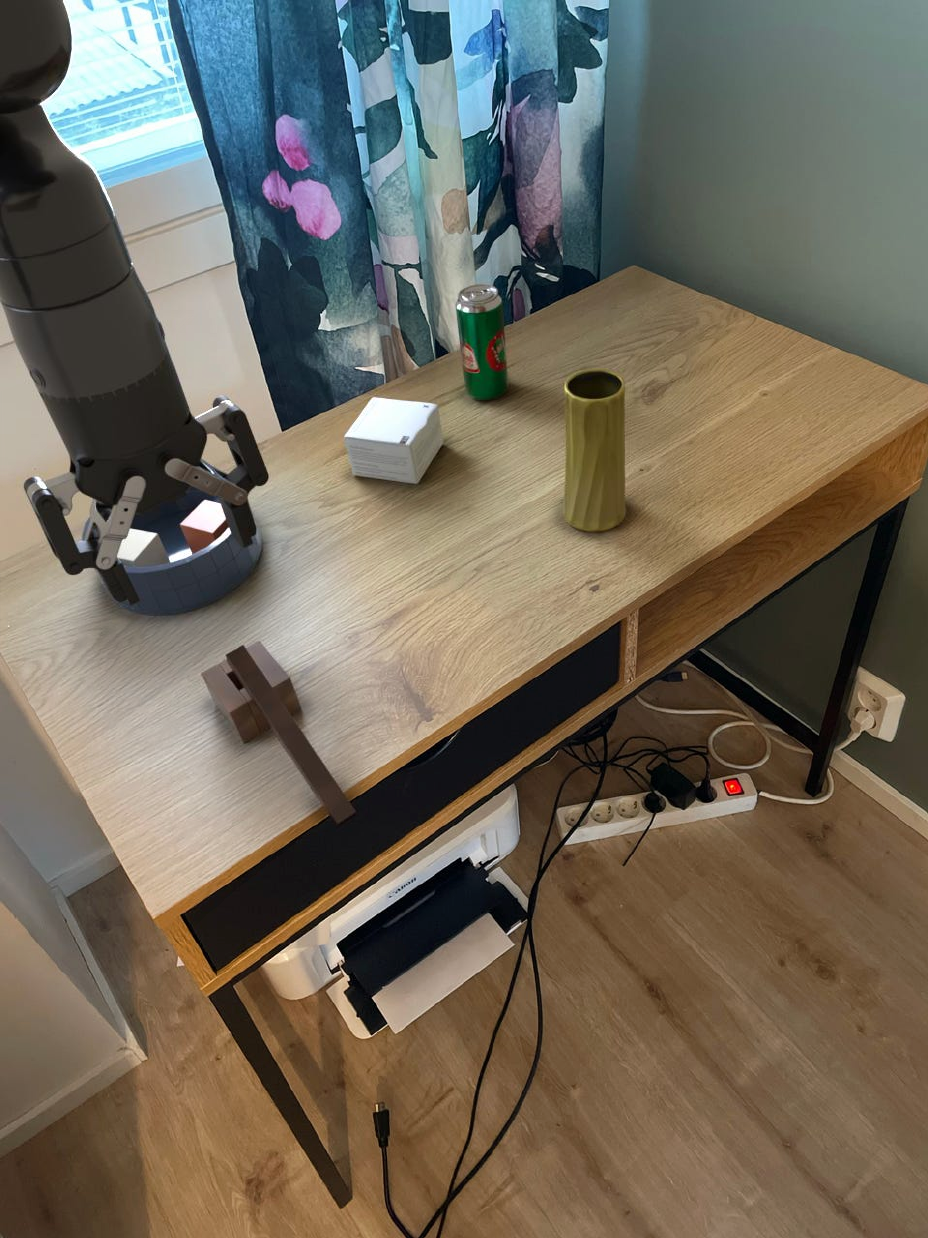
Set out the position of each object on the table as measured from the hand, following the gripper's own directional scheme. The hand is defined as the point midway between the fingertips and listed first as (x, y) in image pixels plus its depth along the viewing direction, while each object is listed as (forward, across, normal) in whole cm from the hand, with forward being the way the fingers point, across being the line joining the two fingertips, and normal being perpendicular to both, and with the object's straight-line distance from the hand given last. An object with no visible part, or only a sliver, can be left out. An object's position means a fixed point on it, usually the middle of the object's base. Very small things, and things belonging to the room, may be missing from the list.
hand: (188, 569), depth 62 cm
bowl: (+16, -4, -23) cm, 28 cm away
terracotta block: (+16, -8, -21) cm, 27 cm away
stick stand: (+16, -1, -1) cm, 17 cm away
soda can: (+16, -44, -25) cm, 53 cm away
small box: (+16, -29, -21) cm, 39 cm away
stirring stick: (+10, -1, -1) cm, 10 cm away
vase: (+16, -38, 0) cm, 41 cm away
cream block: (+16, 0, -23) cm, 28 cm away
